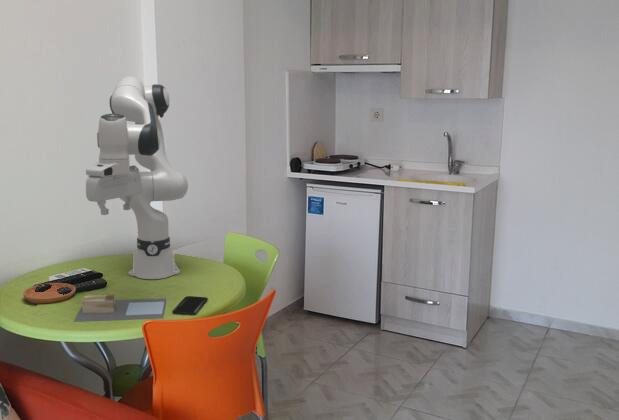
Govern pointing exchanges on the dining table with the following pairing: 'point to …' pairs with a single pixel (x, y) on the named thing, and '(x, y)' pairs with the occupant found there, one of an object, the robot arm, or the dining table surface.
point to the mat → (128, 311)
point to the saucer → (48, 294)
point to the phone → (190, 305)
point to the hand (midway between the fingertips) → (116, 212)
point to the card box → (99, 304)
